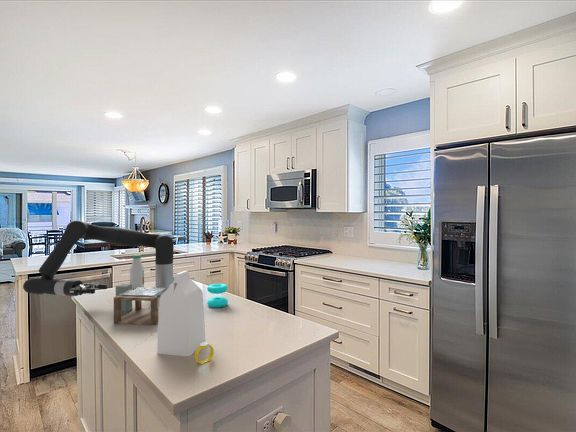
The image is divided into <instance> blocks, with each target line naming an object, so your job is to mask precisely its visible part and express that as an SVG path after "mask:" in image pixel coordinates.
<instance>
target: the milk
mask: <svg viewBox="0 0 576 432" xmlns="http://www.w3.org/2000/svg"><path fill="white" fill-rule="evenodd" d="M158 300H159V302H158V309H159V319H158V323H157V341H156V343H157V345H156V348H157V349H156V354H159V355H168V356H177V357H187V356H189V357H190V356H192V355H193V354H194V353H195V352H196V350H197V348H198V347H199V346H200V343H202V342H207V341H206V340H207V339H206V330H205V327H206V325H205V309H204V293H203V291H202V289H201V288H200V287H199V286H198V285H197V283H195V282H194V281H193V279H191V278H190V274H189V270H183V271H181V272H177V273H175V274H174V282H173V283H172V284H171V285H170V286H169V288H168V289H167V290H166V291H165V292H164V293H163V294H162V295H161V296H159V298H158ZM194 351H195V352H194ZM193 352H194V353H193ZM192 353H193V354H192Z"/></svg>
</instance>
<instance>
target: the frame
mask: <svg viewBox="0 0 576 432" xmlns="http://www.w3.org/2000/svg"><path fill="white" fill-rule="evenodd" d="M136 288H139V287H136ZM136 288H135V289H136ZM150 288H155V287H150ZM167 289H168V288H167ZM121 300H132V301H134V305H135V306H134V310H131V311H129V313H128V312H127V313H126V314H125V315H123V316H122V312H121ZM158 300H159V298H158V296H155V297H131V296H116V295H115V296H113V324H119V325H120V324H121V325H122V324H123V325H145V326H146V325H149V326H155V325H156V326H157V325H158V319H159V302H158ZM143 301H144V302H150V308H142V307H143V305H142V304H143V303H142V302H143Z"/></svg>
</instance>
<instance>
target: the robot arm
mask: <svg viewBox="0 0 576 432" xmlns="http://www.w3.org/2000/svg"><path fill="white" fill-rule="evenodd" d="M81 239H82V240H94V241H100V242H104V243H107V244H111V245H117V246H125V247H148V248H152V249H155V261H154V262H155V288H169V286H170V285H171V284H172V283H173V282H174V279H175V275H174V239H173V238H172V237H171V236H169V235H168V234H161V233H160V234H158V233H157V234H155V233H147V232H143V231H140V230H137V229H136V230H134V229H130V228H127V227H126V228H125V227H117V226H99V225H95V224H90V223H87V222H85V221H81V220H72V221H71V222H68V224H67V225H66V227H65V230H64V232H63V233H62V236H61V237H60V239H59V241H58V242H57V244H56V246H55V247H54V248H53V250H52V251H51V253H50V254H49V255H48V257H47V258H46V259H45V260H44V261H43V262H42V265H41V266H40V267H39V269H38V272H39V274H41V277H40V278H38V277H31V278H28V279H27V280H25V281H24V283H23V285H22V289H23V290H24V292H26V293H28V294H32V295H33V294H34V295H44V294H47V295H52V296H53V295H55V296H63V297H64V296H67V297H78V296H82V295H87V294H92V295H93V294H94V295H95V293H96V290H107V289H108V285H107V284H106V283H105V284H103V283H102V282H89V283H88V282H85V283H83V282H82V280H80V279H54V278H55V275H56V274H57V273H58V272H59V270H60V268H61V267H62V265H63V264H64V262H65V261H66V258H67V256H68V255H69V253H70V252H71V250H72V248H73V247H74V246H75V245H76V244H77V243H78V241H79V240H81ZM163 293H164V292H163ZM163 293H161V294H159V295H157V296H156V297H158V296H159V297H160V296H161V295H162V294H163Z"/></svg>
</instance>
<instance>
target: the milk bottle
mask: <svg viewBox="0 0 576 432" xmlns="http://www.w3.org/2000/svg"><path fill="white" fill-rule="evenodd" d="M141 260H142V255H141V254H135V255H134V254H133V255H132V263H131V266H130V269H129V284H132V290H133V289H135V288H136V287H145V269H144V265H143V263H142V261H141Z"/></svg>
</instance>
